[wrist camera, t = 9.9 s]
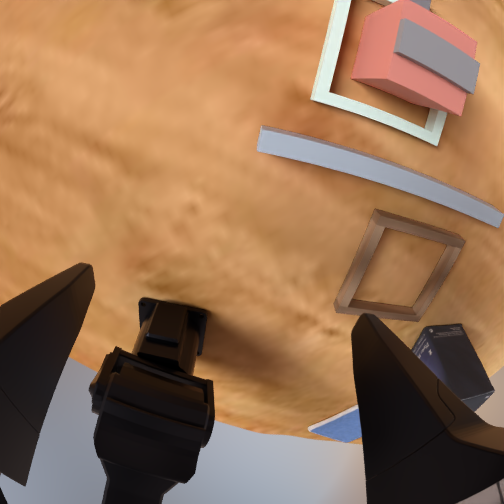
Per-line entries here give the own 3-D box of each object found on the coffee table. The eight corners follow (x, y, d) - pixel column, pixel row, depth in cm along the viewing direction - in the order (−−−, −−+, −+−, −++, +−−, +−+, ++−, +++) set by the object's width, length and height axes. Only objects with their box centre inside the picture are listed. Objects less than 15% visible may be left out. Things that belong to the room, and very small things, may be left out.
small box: (421, 325, 28) (456, 402, 19) (461, 321, 28) (498, 388, 19) (388, 380, 34) (408, 448, 25) (427, 375, 34) (449, 436, 25)
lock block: (412, 103, 17) (467, 118, 11) (350, 78, 16) (391, 78, 11) (426, 45, 14) (483, 41, 9) (365, 16, 14) (409, -5, 8)
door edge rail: (486, 218, 21) (498, 228, 19) (256, 144, 19) (256, 151, 17) (492, 205, 20) (504, 214, 19) (261, 125, 18) (261, 129, 17)
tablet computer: (414, 367, 33) (417, 374, 32) (438, 390, 38) (440, 396, 37) (304, 424, 41) (305, 431, 40) (345, 438, 45) (346, 444, 44)
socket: (429, 142, 18) (437, 146, 17) (310, 99, 17) (313, 100, 16) (457, 23, 13) (466, 22, 12) (342, -34, 12) (346, -39, 11)
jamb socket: (414, 313, 27) (418, 321, 26) (333, 303, 26) (335, 312, 25) (458, 234, 22) (465, 241, 21) (374, 208, 21) (380, 215, 20)
